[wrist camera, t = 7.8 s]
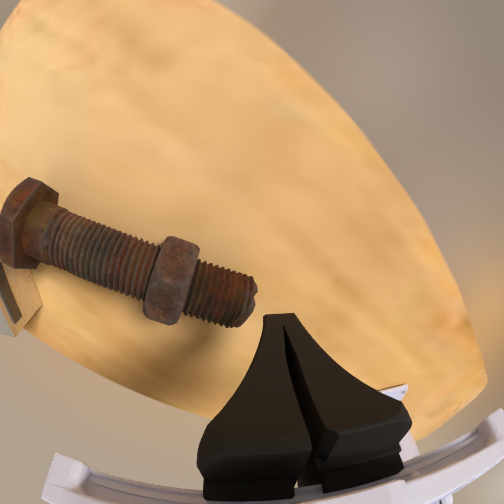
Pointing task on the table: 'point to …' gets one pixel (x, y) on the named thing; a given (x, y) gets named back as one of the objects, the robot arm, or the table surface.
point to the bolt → (121, 260)
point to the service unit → (16, 299)
